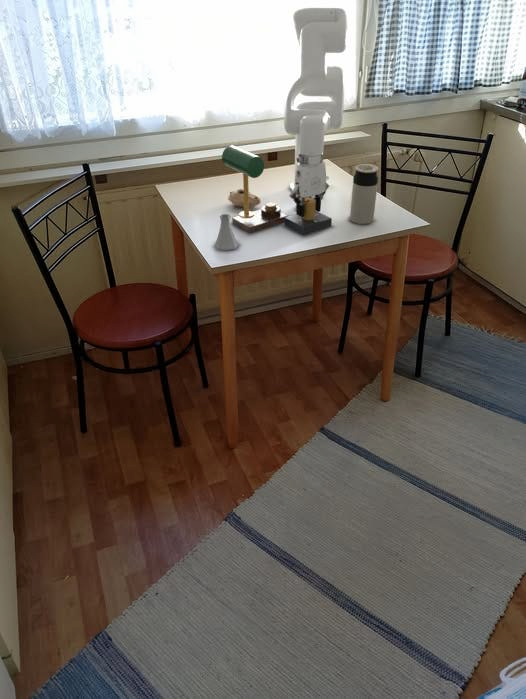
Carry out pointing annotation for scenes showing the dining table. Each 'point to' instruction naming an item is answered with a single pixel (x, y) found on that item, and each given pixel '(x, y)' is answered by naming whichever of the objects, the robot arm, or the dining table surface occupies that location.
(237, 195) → the pottery oil lamp
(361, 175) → the travel mug
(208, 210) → the dining table surface
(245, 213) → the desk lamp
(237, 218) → the lamp base
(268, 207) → the button
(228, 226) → the flask
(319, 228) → the dimmer
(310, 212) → the dimmer knob
